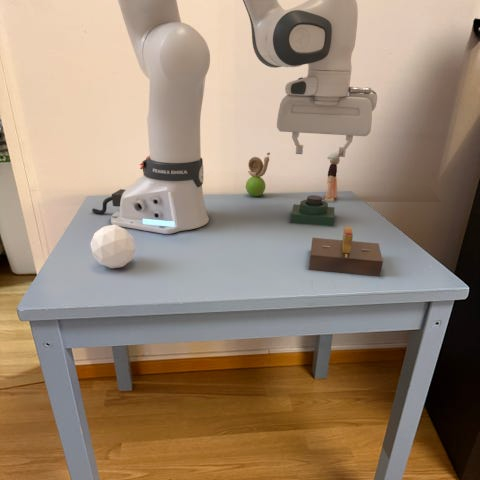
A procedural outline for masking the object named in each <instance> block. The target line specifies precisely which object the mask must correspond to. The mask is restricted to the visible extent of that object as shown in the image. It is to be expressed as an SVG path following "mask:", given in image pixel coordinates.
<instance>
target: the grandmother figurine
mask: <svg viewBox="0 0 480 480" xmlns="http://www.w3.org/2000/svg"><path fill="white" fill-rule="evenodd" d="M338 153H339V150H333V151H331V152H330V153H329V154H328V156H327V160H329V163H330V165H329V167H328V171H327V182H326V183H327V189H326V192H325V196H324V201H325V202H331V203H333V202H335V201H336V200H335V198H337V197H338V180H337V179H338V178H337V173H338V165H339V163H340V161H341V157H338Z"/></svg>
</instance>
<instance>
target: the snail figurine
mask: <svg viewBox="0 0 480 480" xmlns="http://www.w3.org/2000/svg"><path fill="white" fill-rule="evenodd" d="M266 155H267V156H265V157H264V158H263V161H262V159H261V158H260V157H258V156H253V157H251V158H250V159H249V160H248V165H247V166H248V169H249V170H248V171H247V173H248V174H249V176H251V177H249V178H248V179H247V181H246V182H245V190H246V192H247V194H248V195H250V196H251V197H260V196H261V195H263V194H264V193H265V190H266V187H267V186H266V181H265V180H264V178H263V176H265V174H266V172H267V169H268V166H269V162H270V155H271V152H270V151H269V152H267V153H266Z"/></svg>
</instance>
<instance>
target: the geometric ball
mask: <svg viewBox="0 0 480 480" xmlns="http://www.w3.org/2000/svg"><path fill="white" fill-rule="evenodd" d="M89 244H90V248H91V252H92V253H91V254H92V256H93V257H94V259H95V260H96V261H97V262H98V263H99V265H102V266H103V267H107V268H109V269H111V270H112V269H119V268H123V267H125V266H126V265H127V264H129V263H130V262H131V261H132V260H133V257H134V256H135V252H136V243H135V238H134V237H133V235H131V233H130V232H129V231H128V230H127V229H126V228H124V227H122V226H117V225H112V224H110V225H105V226H102V227H101V228H100V229H98V230H97V231H95V232H94V234H93V235H92V239H91V241H90V243H89Z"/></svg>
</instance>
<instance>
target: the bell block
mask: <svg viewBox="0 0 480 480" xmlns="http://www.w3.org/2000/svg"><path fill="white" fill-rule="evenodd" d="M290 223H291V224H300V225H312V226H313V225H314V226H326V227H334V223H335V207H334V206H329V203H328V201H325V200H322V205H321V206H311V205H307V199H303V200H301V201H300V203H299V204H295V203H294V204H293V206H292V210H291V214H290Z"/></svg>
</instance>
